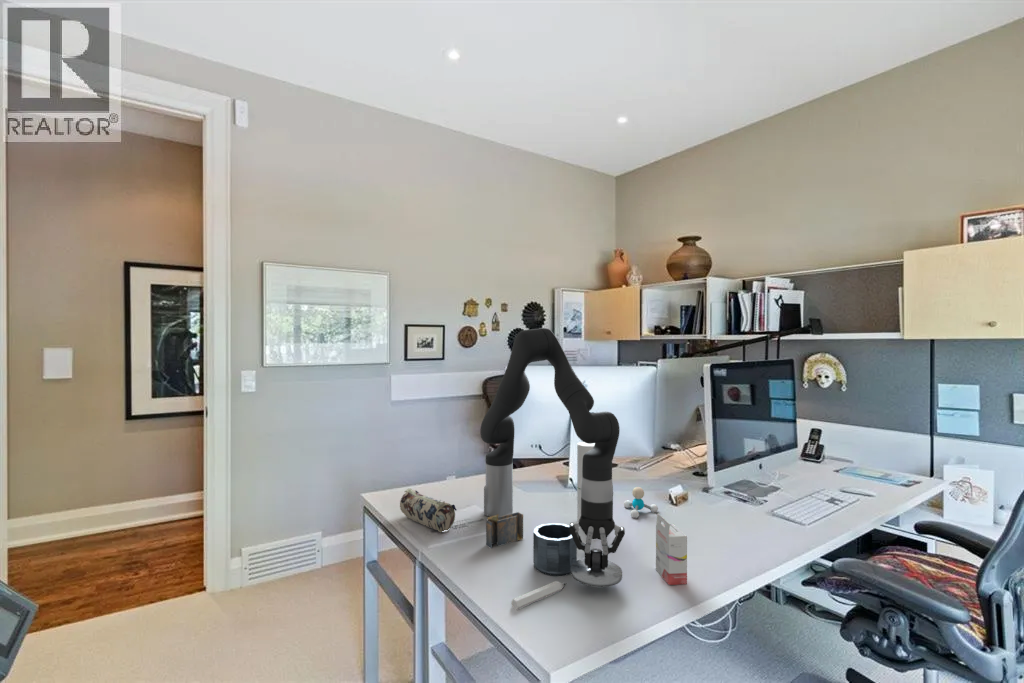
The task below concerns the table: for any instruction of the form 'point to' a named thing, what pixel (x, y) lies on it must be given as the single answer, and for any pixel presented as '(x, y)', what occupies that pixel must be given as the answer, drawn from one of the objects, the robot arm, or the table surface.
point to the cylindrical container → (581, 450)
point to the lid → (596, 571)
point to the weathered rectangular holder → (504, 529)
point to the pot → (553, 549)
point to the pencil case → (427, 510)
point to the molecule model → (638, 503)
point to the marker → (537, 594)
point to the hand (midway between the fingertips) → (596, 567)
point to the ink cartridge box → (671, 552)
